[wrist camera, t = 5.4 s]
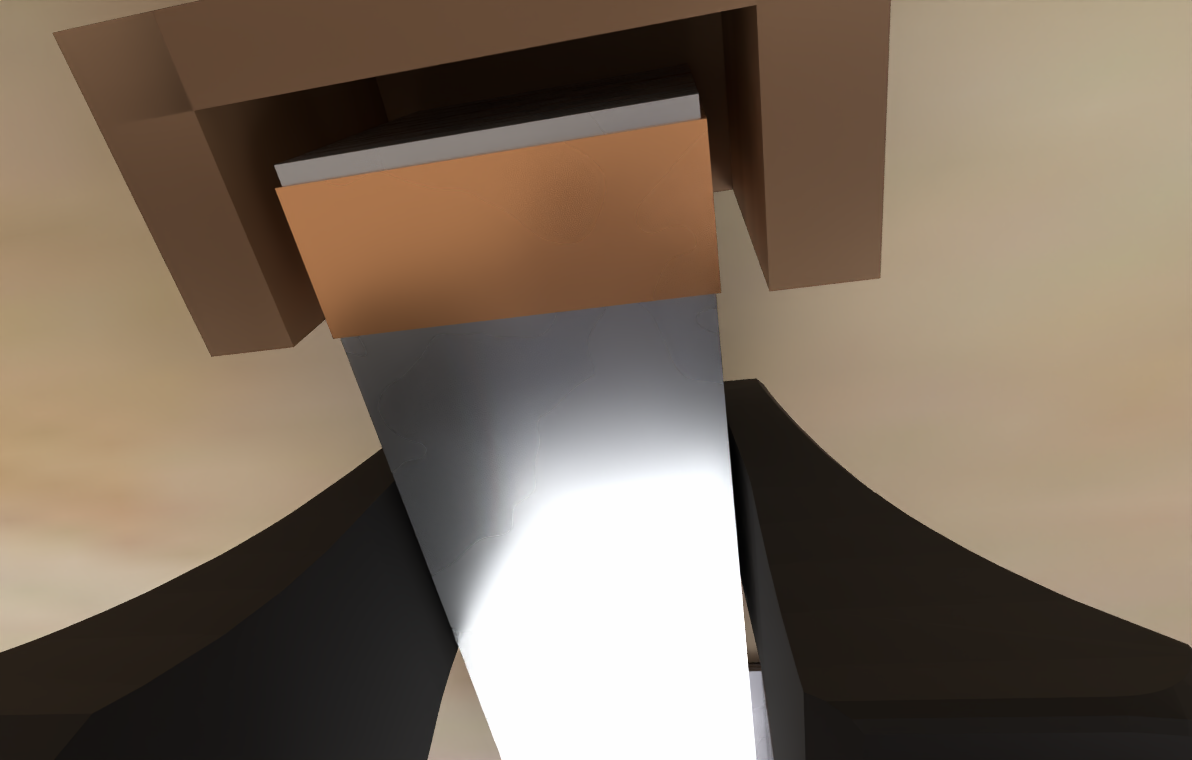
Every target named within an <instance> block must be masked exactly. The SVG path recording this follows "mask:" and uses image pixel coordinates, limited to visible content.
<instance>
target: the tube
mask: <svg viewBox="0 0 1192 760" xmlns="http://www.w3.org/2000/svg"><path fill="white" fill-rule="evenodd" d="M274 166H275V169H276V172H277V174H278V177H279V179H280V182H281V185H282V186H279V187H277V188H275V190H276V193H277V195H278V198H279V200H280V203H281V206H282V208H283V211H284V213H285V216H286V218H287V221H288V224H289V226H290V229H291V231H292V234H293V236H294V239H295V242H296V244H297V247H298V249H299V252H300V254H301V257H302V260H303V262H304V265H305V267H306V270H307V272H308V275H309V278H310V280H311V283H312V285H313V288H314V290H315V293H316V296H317V298H318V301H319V303H320V306H321V308H322V311H323V314H324V316H325V319H326V321H327V324H328V326H329V329H330V332H331V334H332V337H333V339H335V338H341V341H342V344H343V346H344V349H345V352H346V354H347V357H348V359H349V362H350V365H351V367H352V370H353V372H354V375H355V378H356V380H357V383H358V385H359V388H360V391H361V393H362V396H363V399H364V401H365V404H366V406H367V409H368V412H369V414H370V417H371V419H372V422H373V425H374V427H375V430H376V432H377V435H378V438H379V440H380V443H381V445H382V448H383V451H384V453H385V456H386V459H387V461H388V464H389V466H390V469H391V472H392V474H393V477H394V479H395V482H396V485H397V487H398V490H399V492H400V495H401V498H402V500H403V503H404V505H405V508H406V511H407V513H408V516H409V519H410V521H411V524H412V526H413V529H414V532H415V534H416V537H417V539H418V542H419V545H420V547H421V550H422V552H423V555H424V558H425V560H426V563H427V565H428V568H429V571H430V573H431V576H432V579H433V581H434V584H435V586H436V589H437V592H438V594H439V597H440V599H441V602H442V605H443V607H444V610H445V612H446V615H447V618H448V620H449V623H450V625H451V628H452V631H453V633H454V636H455V639H456V641H457V644H458V646H459V649H460V652H461V654H462V657H463V659H464V662H465V665H466V667H467V670H468V672H469V675H470V678H471V680H472V683H473V685H474V688H475V691H476V693H477V696H478V699H479V701H480V704H481V706H482V709H483V712H484V714H485V717H486V719H487V722H488V725H489V727H490V730H491V732H492V735H493V738H494V740H495V743H496V745H497V748H498V751H499V753H500V756H501V759H502V760H756V753H755V741H754V730H753V718H752V706H751V695H750V683H749V672H748V660H747V649H746V637H745V625H744V614H743V602H742V591H741V579H740V568H739V556H738V544H737V533H736V521H735V510H734V498H733V487H732V475H731V463H730V452H729V440H728V429H727V417H726V406H725V394H724V382H723V371H722V359H721V348H720V336H719V325H718V313H717V301H716V293H721V284H720V272H719V260H718V248H717V236H716V224H715V212H714V199H713V187H712V175H711V163H710V151H709V139H708V127H707V118H706V115H705V112H704V109H703V106H702V103H701V101H700V98H699V94H698V91H697V88H696V85H695V82H694V80H693V77H692V74H691V71H690V69H689V66H688V64H683V65H677V66H672V67H666V68H660V69H655V70H649V71H643V72H638V73H632V74H626V75H621V76H615V77H609V78H604V79H598V80H592V81H587V82H581V83H575V84H570V85H564V86H558V87H553V88H547V89H541V90H536V91H530V92H524V93H519V94H513V95H507V96H502V97H496V98H490V99H485V100H479V101H473V102H468V103H462V104H456V105H451V106H445V107H439V108H434V109H428V110H422V111H417V112H414V113H411V114H408V115H406V116H403V117H400V118H398V119H395V120H393V121H390V122H387V123H385V124H382V125H379V126H377V127H374V128H371V129H369V130H366V131H363V132H361V133H358V134H356V135H353V136H350V137H348V138H345V139H342V140H340V141H337V142H334V143H332V144H329V145H326V146H324V147H321V148H319V149H316V150H313V151H311V152H308V153H305V154H303V155H300V156H297V157H295V158H292V159H290V160H287V161H284V162H282V163H279V164H276V165H274Z"/></svg>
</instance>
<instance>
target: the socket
mask: <svg viewBox="0 0 1192 760" xmlns="http://www.w3.org/2000/svg"><path fill="white" fill-rule="evenodd" d="M890 6H891V0H200V1H195V2H191V3H186V4H182V5H177V6H172V7H168V8H163V9H159V10H154V11H150V12H145V13H140V14H136V15H131V16H127V17H122V18H118V19H113V20H109V21H104V22H99V23H95V24H90V25H86V26H81V27H77V28H72V29H67V30H63V31H58V32H54V33H53V35H54V37H55V39H56V41H57V43H58V45H59V47H60V49H61V51H62V53H63V55H64V57H65V60H66V62H67V64H68V66H69V68H70V70H71V72H72V74H73V76H74V78H75V80H76V82H77V84H78V86H79V88H80V90H81V92H82V94H83V96H84V98H85V100H86V102H87V104H88V106H89V108H90V110H91V112H92V114H93V117H94V119H95V121H96V123H97V125H98V127H99V129H100V131H101V133H102V135H103V137H104V139H105V141H106V143H107V145H108V147H109V149H110V151H111V153H112V155H113V157H114V159H115V161H116V163H117V165H118V167H119V169H120V171H121V173H122V176H123V178H124V180H125V182H126V184H127V186H128V188H129V190H130V192H131V194H132V196H133V198H134V200H135V202H136V204H137V206H138V208H139V210H140V212H141V214H142V216H143V218H144V220H145V222H146V224H147V226H148V228H149V230H150V233H151V235H152V237H153V239H154V241H155V243H156V245H157V247H158V249H159V251H160V253H161V255H162V257H163V259H164V261H165V263H166V265H167V267H168V269H169V271H170V273H171V275H172V277H173V279H174V281H175V283H176V285H177V287H178V290H179V292H180V294H181V296H182V298H183V300H184V302H185V304H186V306H187V308H188V310H189V312H190V314H191V316H192V318H193V320H194V322H195V324H196V326H197V328H198V330H199V332H200V334H201V336H202V338H203V340H204V342H205V344H206V347H207V349H208V351H209V353H210V355H211V357H213V356H221V355H230V354H238V353H247V352H255V351H264V350H272V349H281V348H290V347H294V346H295V345H297V344H298V343H299V342H300V341H301V340H302V339H303V338H304V337H306V336H307V335H308V334H309V333H310V332H311V331H312V330H314V329H315V328H316V327H317V326H318V325H319V324H320V323H322V322H323V321H324V320H325V316H324V314H323V311H322V308H321V306H320V303H319V301H318V298H317V296H316V293H315V290H314V288H313V285H312V283H311V280H310V278H309V275H308V272H307V270H306V267H305V265H304V262H303V260H302V257H301V254H300V252H299V249H298V247H297V244H296V242H295V239H294V236H293V234H292V231H291V229H290V226H289V224H288V221H287V218H286V216H285V213H284V211H283V208H282V206H281V203H280V200H279V198H278V195H277V193H276V190H275V188H277V187H279V186H282V185H281V182H280V179H279V177H278V174H277V172H276V169H275V166H274V165H276V164H279V163H282V162H284V161H287V160H290V159H292V158H295V157H297V156H300V155H303V154H305V153H308V152H311V151H313V150H316V149H319V148H321V147H324V146H326V145H329V144H332V143H334V142H337V141H340V140H342V139H345V138H348V137H350V136H353V135H356V134H358V133H361V132H363V131H366V130H369V129H371V128H374V127H377V126H379V125H382V124H385V123H387V122H390V121H393V120H395V119H398V118H400V117H403V116H406V115H408V114H411V113H414V112H417V111H422V110H428V109H434V108H439V107H445V106H451V105H456V104H462V103H468V102H473V101H479V100H485V99H490V98H496V97H502V96H507V95H513V94H519V93H524V92H530V91H536V90H541V89H547V88H553V87H558V86H564V85H570V84H575V83H581V82H587V81H592V80H598V79H604V78H609V77H615V76H621V75H626V74H632V73H638V72H643V71H649V70H655V69H660V68H666V67H672V66H677V65H683V64H688V66H689V69H690V71H691V74H692V77H693V80H694V82H695V85H696V88H697V91H698V94H699V98H700V101H701V103H702V106H703V109H704V112H705V115H706V118H707V127H708V139H709V151H710V163H711V175H712V187H713V192H719V191H726V190H733V191H734V194H735V196H736V199H737V202H738V205H739V207H740V210H741V213H742V216H743V219H744V221H745V224H746V227H747V230H748V232H749V235H750V238H751V241H752V244H753V246H754V249H755V252H756V255H757V257H758V260H759V263H760V266H761V269H762V271H763V274H764V277H765V280H766V283H767V285H768V288H769V291H776V290H784V289H793V288H801V287H810V286H818V285H827V284H835V283H844V282H852V281H861V280H869V279H878V278H880V273H881V246H882V219H883V193H884V166H885V140H886V113H887V86H888V60H889V33H890Z"/></svg>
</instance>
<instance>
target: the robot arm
mask: <svg viewBox="0 0 1192 760" xmlns="http://www.w3.org/2000/svg"><path fill="white" fill-rule="evenodd" d="M724 394H725V406H726V417H727V429H728V440H729V452H730V463H731V475H732V487H733V498H734V510H735V521H736V533H737V544H738V556H739V568H740V576H741V580H742V585H743V589H744V593H745V598H746V602H747V607H748V611H749V615H750V620H751V624H752V629H753V633H754V637H755V642H756V646H757V650H758V655H759V659H760V664H761V669H762V675H763V680H764V685H765V691H766V697H767V705H768V713H769V720H770V728H771V736H772V743H773V751H774V758H775V760H1192V648H1191V647H1190V646H1189V645H1188V644H1185V643H1182V642H1180V641H1177V640H1175V639H1172V638H1170V637H1167V636H1164V635H1162V634H1159V633H1157V632H1154V631H1152V630H1149V629H1147V628H1144V627H1141V626H1139V625H1136V624H1134V623H1131V622H1129V621H1126V620H1123V619H1121V618H1118V617H1116V616H1113V615H1111V614H1108V613H1105V612H1103V611H1100V610H1098V609H1095V608H1093V607H1090V606H1088V605H1085V604H1082V603H1080V602H1077V601H1075V600H1072V599H1070V598H1068V597H1065V596H1063V595H1061V594H1058V593H1056V592H1054V591H1052V590H1050V589H1048V588H1045V587H1043V586H1041V585H1039V584H1037V583H1035V582H1033V581H1030V580H1028V579H1026V578H1024V577H1022V576H1020V575H1017V574H1015V573H1013V572H1011V571H1009V570H1007V569H1004V568H1002V567H1001V566H999V565H997V564H995V563H993V562H991V561H989V560H987V559H985V558H983V557H981V556H979V555H977V554H975V553H973V552H971V551H969V550H967V549H966V548H964V547H962V546H960V545H958V544H957V543H955V542H953V541H951V540H950V539H948V538H946V537H944V536H943V535H941V534H939V533H937V532H935V531H934V530H932V529H930V528H928V527H927V526H925V525H923V524H922V523H920V522H918V521H917V520H915V519H914V518H912V517H910V516H909V515H907V514H906V513H904V512H902V511H901V510H900V509H898V508H897V507H895V506H894V505H892V504H891V503H889V502H888V501H886V500H885V499H884V498H882V497H881V496H879V495H878V494H876V493H875V492H873V491H872V490H871V489H869V488H868V487H867V486H865V485H864V484H863V483H862V482H860V481H859V480H858V479H857V478H855V477H854V476H853V475H852V474H851V473H849V472H848V471H847V470H846V469H845V468H843V467H842V466H841V465H840V464H839V463H837V462H836V461H835V460H834V459H833V458H832V457H831V456H830V455H828V454H827V453H826V452H825V451H824V450H823V449H822V448H821V447H820V446H819V445H818V444H817V443H816V442H815V441H814V440H813V439H812V438H811V437H810V436H809V435H808V434H806V433H805V432H804V431H803V430H802V429H801V428H800V427H799V426H798V425H797V423H796V422H795V421H794V420H793V419H792V418H791V417H790V416H789V415H788V414H787V413H786V411H785V410H784V409H783V408H782V407H781V406H780V405H779V404H778V402H777V401H776V400H775V399H774V398H773V396H772V395H771V394H770V392H769V391H768V390H767V389H766V387H765V386H764V384H762V383H761V382H760V381H759V380H757V379H756V378H755V379H745V380H734V381H724ZM458 647H459V646H458V644H457V641H456V639H455V636H454V633H453V631H452V628H451V625H450V623H449V620H448V618H447V615H446V612H445V610H444V607H443V605H442V602H441V599H440V597H439V594H438V592H437V589H436V586H435V584H434V581H433V579H432V576H431V573H430V571H429V568H428V565H427V563H426V560H425V558H424V555H423V552H422V550H421V547H420V545H419V542H418V539H417V537H416V534H415V532H414V529H413V526H412V524H411V521H410V519H409V516H408V513H407V511H406V508H405V505H404V503H403V500H402V498H401V495H400V492H399V490H398V487H397V485H396V482H395V479H394V477H393V474H392V472H391V469H390V466H389V464H388V461H387V459H386V456H385V453H384V451H383V448H382V449H381V450H379V451H378V452H377V453H375V454H374V455H373V456H371V457H370V458H369V459H367V460H366V461H365V462H363V463H362V464H361V465H359V466H358V467H357V468H355V469H354V470H353V471H351V472H350V473H348V474H347V475H346V476H344V477H343V478H341V479H340V480H338V481H337V482H336V483H334V484H333V485H331V486H330V487H328V488H327V489H325V490H324V491H323V492H321V493H320V494H318V495H317V496H315V497H314V498H313V499H311V500H310V501H308V502H307V503H305V504H304V505H302V506H301V507H300V508H298V509H297V510H295V511H294V512H292V513H291V514H289V515H287V516H286V517H284V518H283V519H281V520H280V521H278V522H276V523H275V524H273V525H272V526H270V527H268V528H267V529H265V530H263V531H262V532H260V533H258V534H256V535H255V536H253V537H251V538H250V539H248V540H246V541H244V542H243V543H241V544H239V545H238V546H236V547H234V548H232V549H231V550H229V551H227V552H225V553H223V554H222V555H220V556H218V557H216V558H214V559H212V560H210V561H208V562H206V563H204V564H202V565H200V566H198V567H196V568H194V569H192V570H190V571H188V572H186V573H184V574H182V575H180V576H178V577H176V578H175V579H173V580H171V581H169V582H167V583H165V584H163V585H161V586H159V587H157V588H155V589H153V590H151V591H149V592H146V593H144V594H142V595H140V596H138V597H136V598H133V599H131V600H129V601H127V602H124V603H122V604H120V605H118V606H116V607H113V608H111V609H109V610H107V611H104V612H102V613H100V614H97V615H95V616H92V617H90V618H88V619H85V620H83V621H81V622H78V623H76V624H73V625H71V626H69V627H66V628H64V629H61V630H59V631H56V632H54V633H51V634H49V635H46V636H44V637H41V638H39V639H36V640H34V641H31V642H28V643H26V644H23V645H20V646H17V647H15V648H12V649H9V650H6V651H4V652H1V653H0V760H427V759H428V755H429V750H430V746H431V742H432V738H433V733H434V729H435V725H436V721H437V716H438V712H439V708H440V704H441V700H442V696H443V693H444V689H445V686H446V683H447V680H448V676H449V673H450V670H451V667H452V664H453V661H454V658H455V655H456V653H457V650H458Z"/></svg>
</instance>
